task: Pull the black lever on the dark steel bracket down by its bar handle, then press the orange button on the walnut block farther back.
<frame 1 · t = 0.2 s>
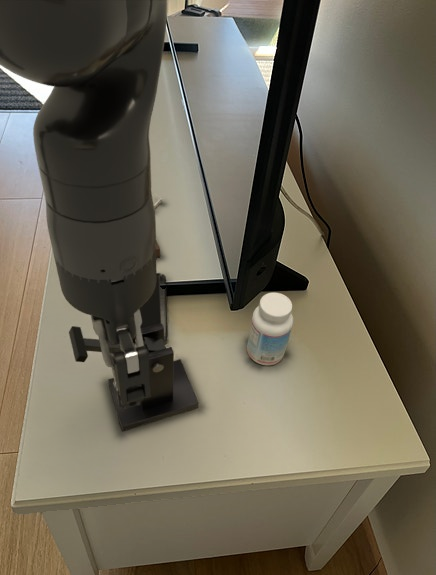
hand: (119, 365, 48), 22 cm above the table, tool pointing down, fingers open, 8 cm apart
button: (123, 228, 89), point 4 cm above the table, slide at 0.1 cm
bracket: (153, 395, 72), on the table
button block: (124, 247, 93), on the table
lever: (119, 347, 61), point 13 cm above the table, hinge at 30.0°
phone: (142, 310, 82), on the table
crossbow: (130, 197, 103), on the table
pill bottle: (265, 351, 79), on the table
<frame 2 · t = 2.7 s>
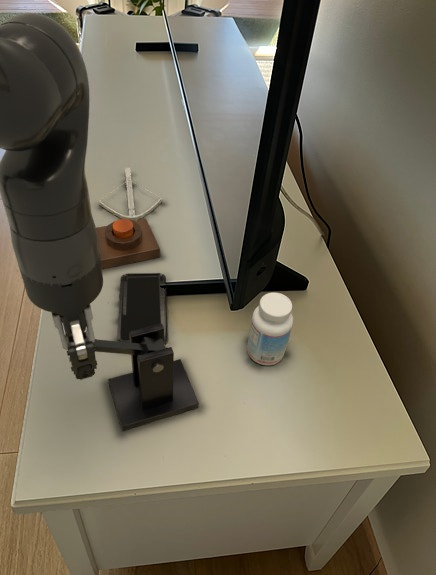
hand: (81, 357, 59), 13 cm above the table, tool pointing down, fingers closed on lever, 4 cm apart
lever: (119, 347, 61), point 13 cm above the table, hinge at 30.0°, touching gripper
everything else where it was.
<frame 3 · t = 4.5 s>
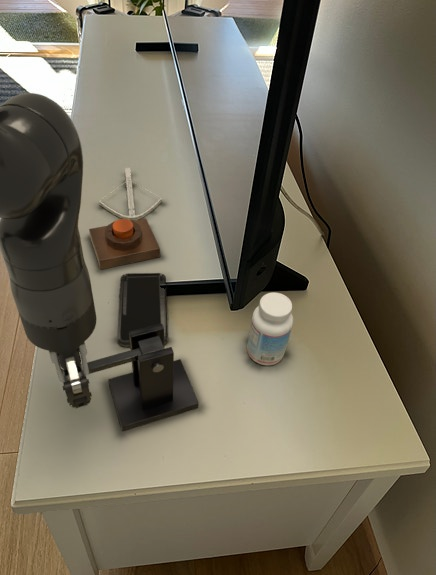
hand: (77, 386, 63), 8 cm above the table, tool pointing down, fingers closed on lever, 4 cm apart
lever: (116, 360, 62), point 11 cm above the table, hinge at -1.6°, touching gripper
everything else where it was.
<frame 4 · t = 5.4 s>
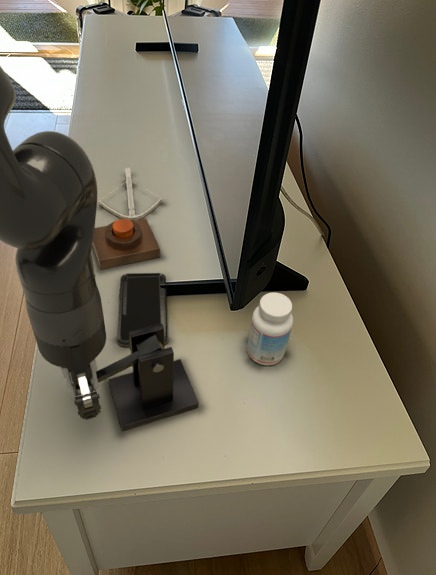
hand: (86, 398, 66), 4 cm above the table, tool pointing down, fingers closed on lever, 4 cm apart
lever: (119, 366, 63), point 9 cm above the table, hinge at -20.3°, touching gripper
everything else where it was.
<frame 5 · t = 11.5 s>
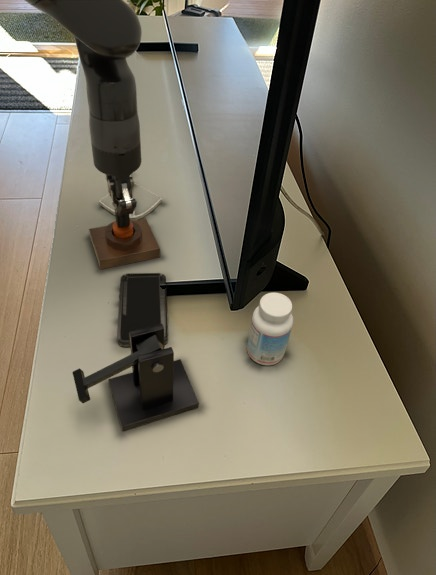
hand: (123, 224, 89), 5 cm above the table, tool pointing down, fingers closed
button: (123, 228, 89), point 4 cm above the table, slide at 0.1 cm, touching gripper
lever: (119, 366, 63), point 9 cm above the table, hinge at -20.8°
everything else where it was.
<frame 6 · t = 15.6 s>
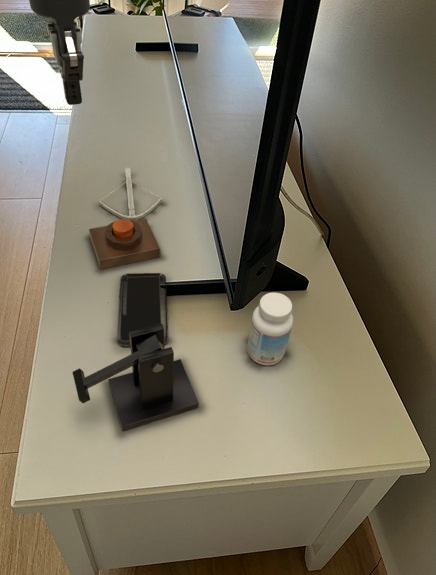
hand: (74, 102, 74), 27 cm above the table, tool pointing down, fingers closed
button: (123, 228, 89), point 4 cm above the table, slide at 0.1 cm
everything else where it was.
at the end: lever at -21° (first picture: +30°); button pushed in 1.0 cm at the most during the clip, back to where it started at the end; button slide at 0.1 cm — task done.
